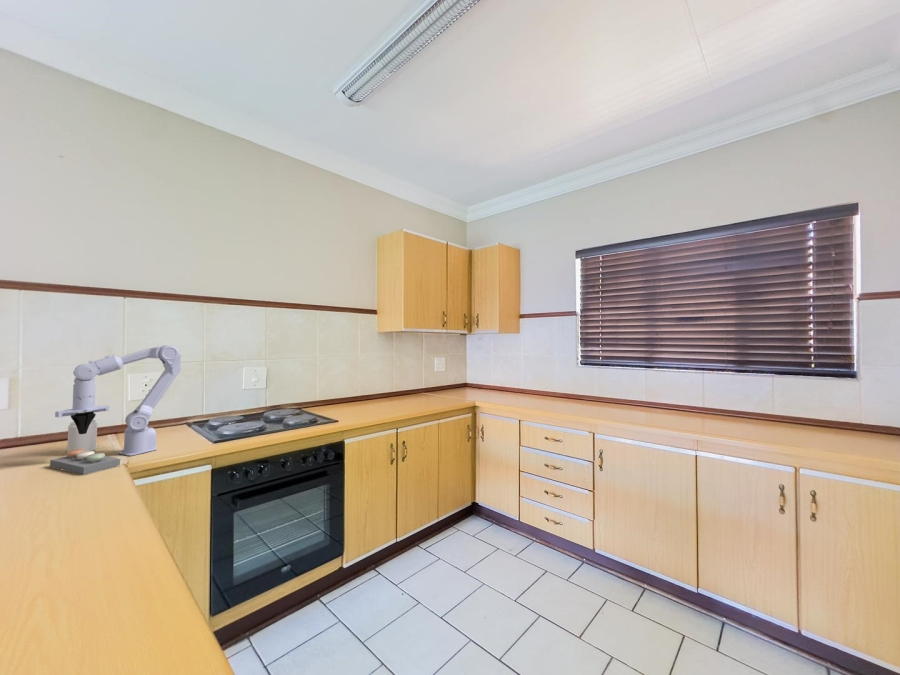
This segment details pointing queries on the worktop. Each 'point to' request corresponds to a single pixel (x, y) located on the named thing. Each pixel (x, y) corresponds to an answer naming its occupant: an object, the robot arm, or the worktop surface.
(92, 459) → the sage button
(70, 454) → the terracotta button
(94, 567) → the worktop surface
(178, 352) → the robot arm
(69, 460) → the button panel
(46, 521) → the worktop surface
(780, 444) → the worktop surface
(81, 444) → the translucent white cylinder
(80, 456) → the cream button
